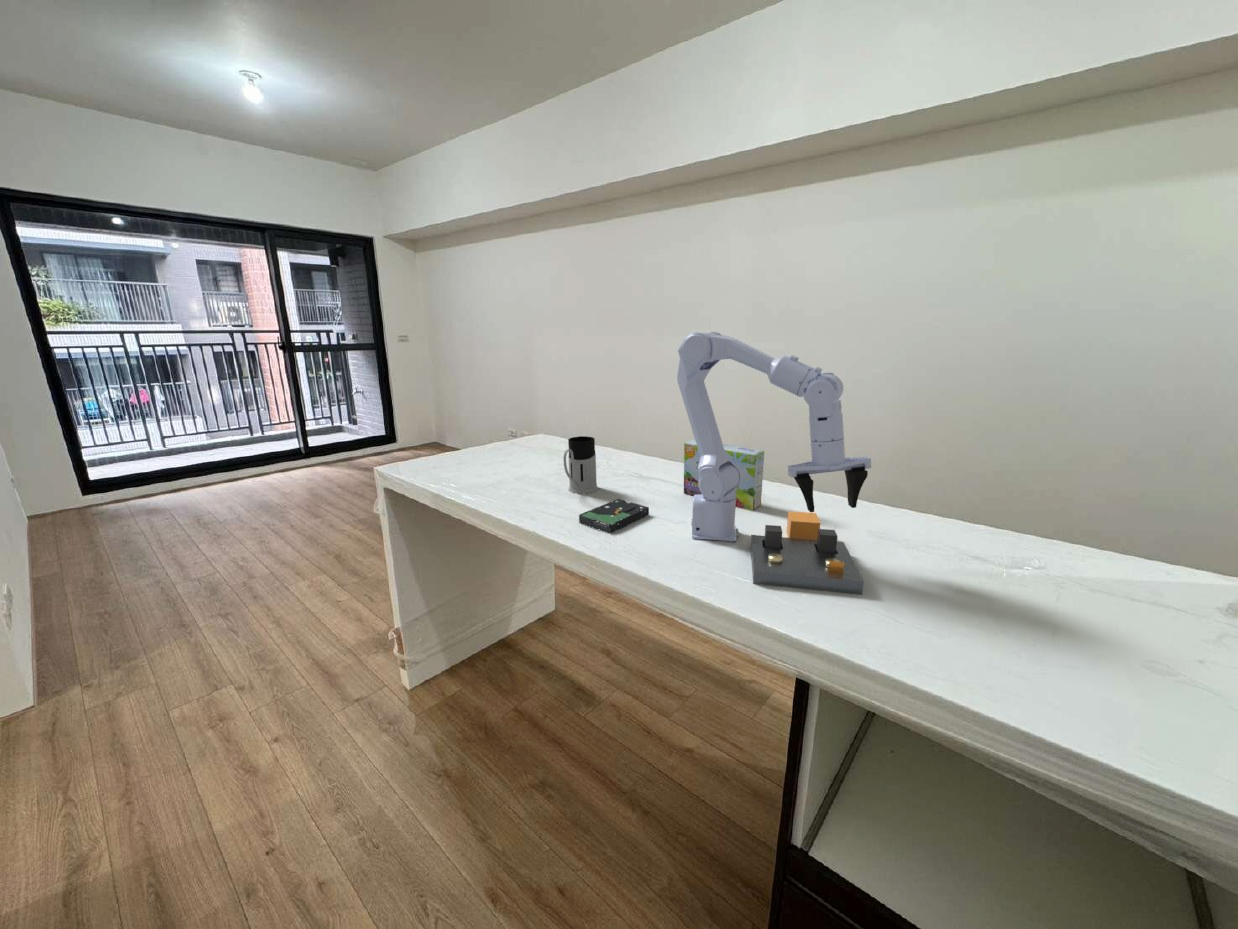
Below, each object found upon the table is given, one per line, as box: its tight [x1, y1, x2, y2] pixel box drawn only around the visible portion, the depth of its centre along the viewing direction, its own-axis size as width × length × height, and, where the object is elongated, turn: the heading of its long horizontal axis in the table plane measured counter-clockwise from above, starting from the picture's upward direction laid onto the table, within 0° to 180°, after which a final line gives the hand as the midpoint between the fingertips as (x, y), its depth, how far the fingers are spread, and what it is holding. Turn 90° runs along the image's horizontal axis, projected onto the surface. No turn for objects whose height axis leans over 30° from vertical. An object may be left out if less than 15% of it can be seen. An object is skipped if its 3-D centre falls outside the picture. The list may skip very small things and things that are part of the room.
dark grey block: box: [816, 528, 838, 554], centre depth 92 cm, size 3×3×4 cm
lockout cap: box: [786, 510, 821, 540], centre depth 102 cm, size 6×6×5 cm
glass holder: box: [563, 435, 599, 495], centre depth 134 cm, size 9×14×15 cm, turn 156°
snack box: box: [683, 439, 765, 512], centre depth 126 cm, size 21×6×15 cm, turn 49°
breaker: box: [764, 524, 783, 549], centre depth 94 cm, size 3×3×4 cm
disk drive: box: [578, 498, 650, 534], centre depth 115 cm, size 10×3×15 cm
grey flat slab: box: [750, 534, 865, 595], centre depth 90 cm, size 18×16×4 cm
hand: (831, 508), depth 91 cm, fingers open, 7 cm apart
